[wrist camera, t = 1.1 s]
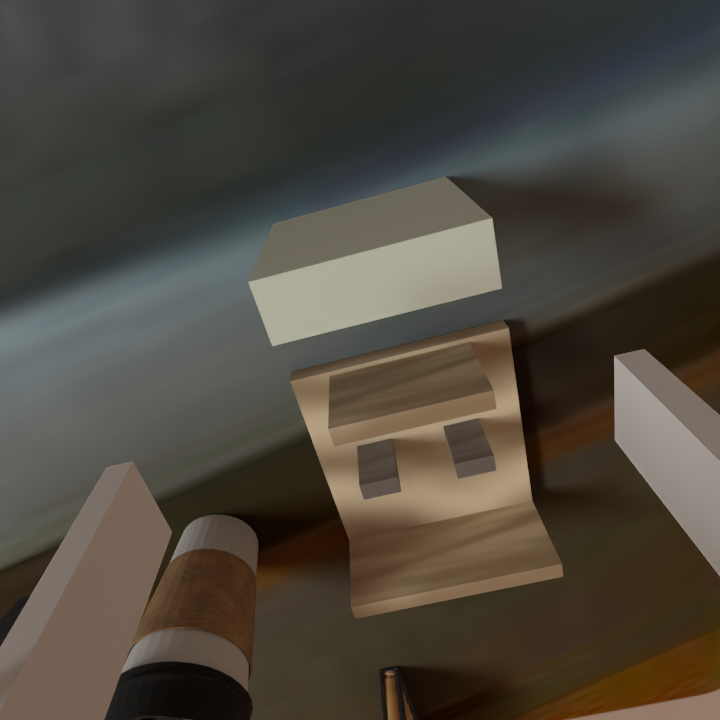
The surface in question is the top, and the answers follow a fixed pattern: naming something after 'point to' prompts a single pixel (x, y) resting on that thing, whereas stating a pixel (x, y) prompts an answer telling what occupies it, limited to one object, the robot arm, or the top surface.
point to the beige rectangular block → (374, 260)
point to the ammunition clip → (395, 696)
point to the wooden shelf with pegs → (428, 469)
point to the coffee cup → (196, 631)
